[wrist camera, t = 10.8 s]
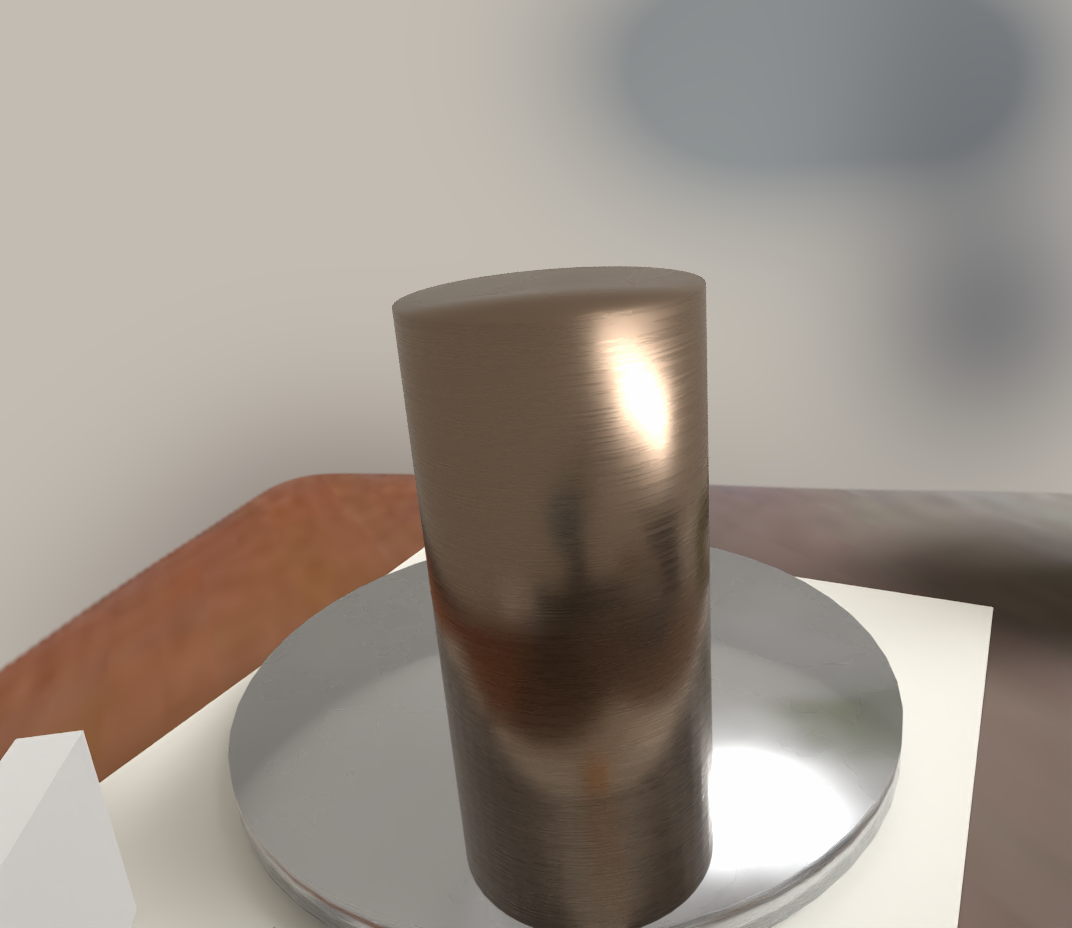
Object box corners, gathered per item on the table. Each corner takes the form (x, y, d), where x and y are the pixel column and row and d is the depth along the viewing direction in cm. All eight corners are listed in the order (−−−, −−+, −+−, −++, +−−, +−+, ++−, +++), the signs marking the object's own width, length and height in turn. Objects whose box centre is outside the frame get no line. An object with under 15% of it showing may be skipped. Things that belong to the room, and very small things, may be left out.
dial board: (988, 649, 28) (994, 598, 28) (903, 1406, 12) (912, 1324, 11) (459, 557, 38) (455, 517, 37) (7, 911, 21) (-14, 852, 21)
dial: (300, 587, 32) (234, 243, 28) (769, 537, 32) (773, 195, 28) (134, 1037, 16) (-82, 381, 12) (1064, 919, 16) (1172, 262, 12)
